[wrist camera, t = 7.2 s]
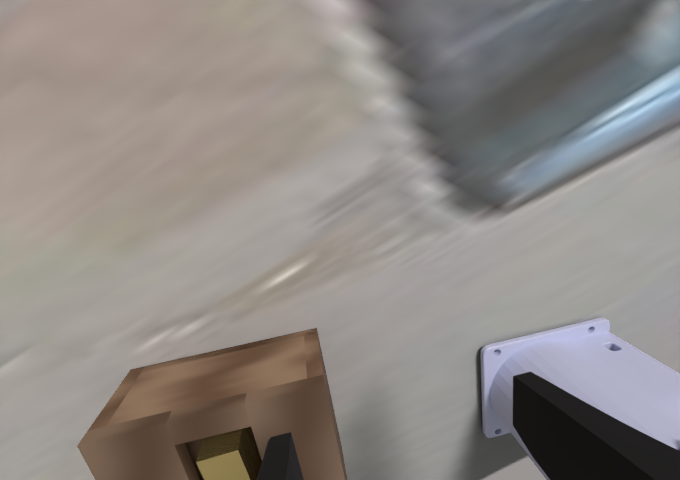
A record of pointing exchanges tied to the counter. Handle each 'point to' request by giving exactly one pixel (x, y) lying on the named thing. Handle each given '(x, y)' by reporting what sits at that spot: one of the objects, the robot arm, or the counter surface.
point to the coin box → (218, 411)
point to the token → (230, 456)
